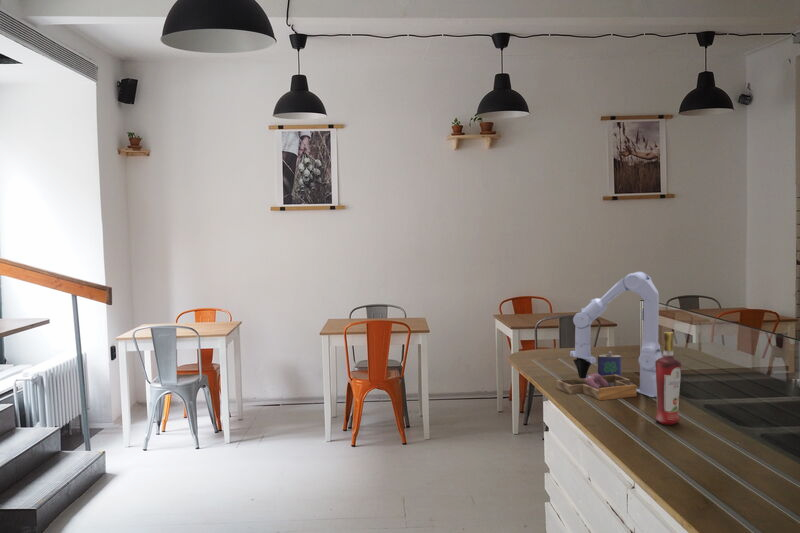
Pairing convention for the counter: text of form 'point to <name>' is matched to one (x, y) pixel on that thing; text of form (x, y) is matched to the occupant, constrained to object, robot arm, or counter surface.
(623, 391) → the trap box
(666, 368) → the liquor
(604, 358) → the flask
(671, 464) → the counter surface
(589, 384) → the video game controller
